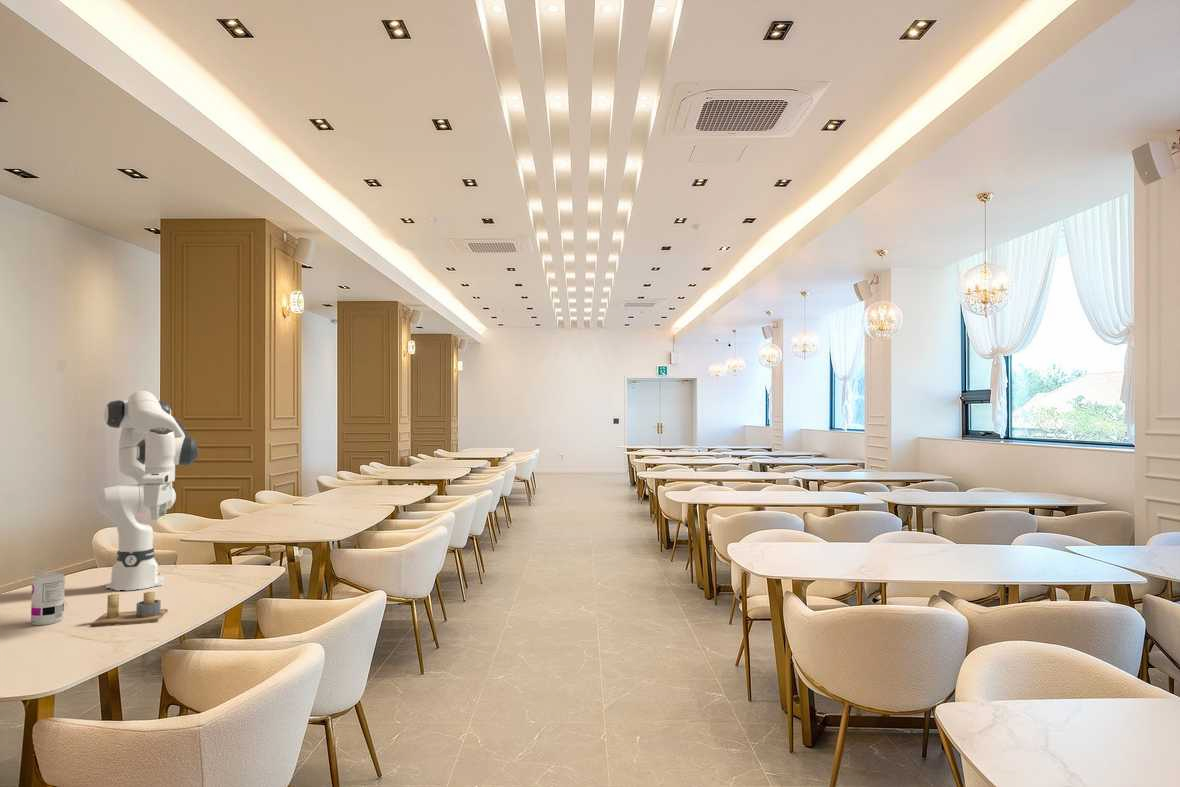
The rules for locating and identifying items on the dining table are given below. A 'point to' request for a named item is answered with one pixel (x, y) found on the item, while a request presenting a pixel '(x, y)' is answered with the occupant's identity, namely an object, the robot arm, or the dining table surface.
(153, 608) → the ring
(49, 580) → the supplement can
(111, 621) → the post board
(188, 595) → the dining table surface
